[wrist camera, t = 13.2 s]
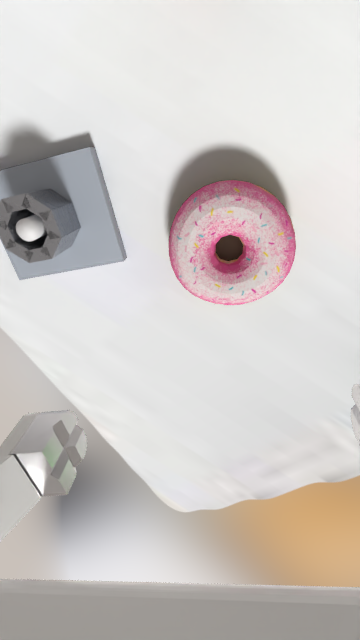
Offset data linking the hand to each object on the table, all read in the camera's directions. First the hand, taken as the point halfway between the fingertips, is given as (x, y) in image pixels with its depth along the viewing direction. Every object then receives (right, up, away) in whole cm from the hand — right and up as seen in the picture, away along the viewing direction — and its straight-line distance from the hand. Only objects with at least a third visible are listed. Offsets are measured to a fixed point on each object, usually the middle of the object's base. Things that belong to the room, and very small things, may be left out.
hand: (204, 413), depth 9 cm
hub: (-15, +14, +26) cm, 33 cm away
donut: (+5, +12, +27) cm, 30 cm away
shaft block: (-15, +15, +27) cm, 34 cm away
